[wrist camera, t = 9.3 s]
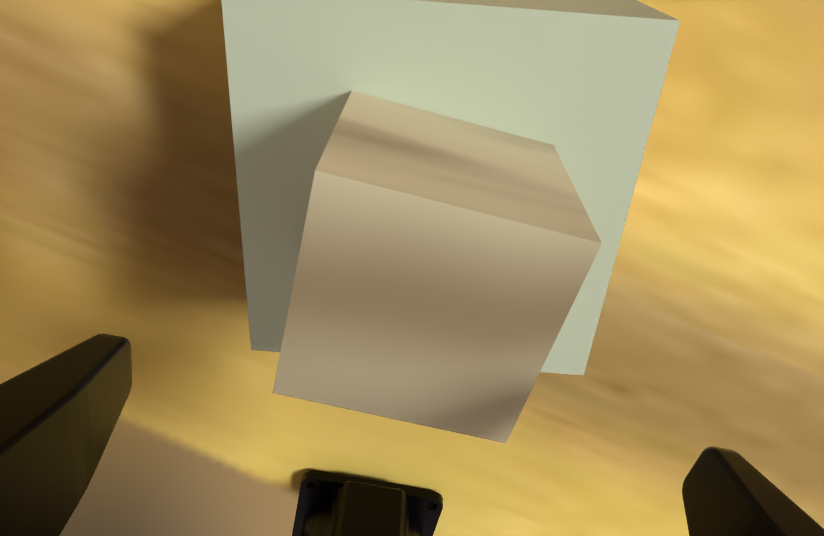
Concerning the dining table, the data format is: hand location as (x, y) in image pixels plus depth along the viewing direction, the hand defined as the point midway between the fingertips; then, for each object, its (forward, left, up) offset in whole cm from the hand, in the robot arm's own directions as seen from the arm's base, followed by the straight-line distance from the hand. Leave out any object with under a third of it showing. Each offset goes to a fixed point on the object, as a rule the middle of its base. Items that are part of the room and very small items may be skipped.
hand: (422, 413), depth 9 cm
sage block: (0, 0, -12) cm, 12 cm away
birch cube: (0, 0, -7) cm, 7 cm away
